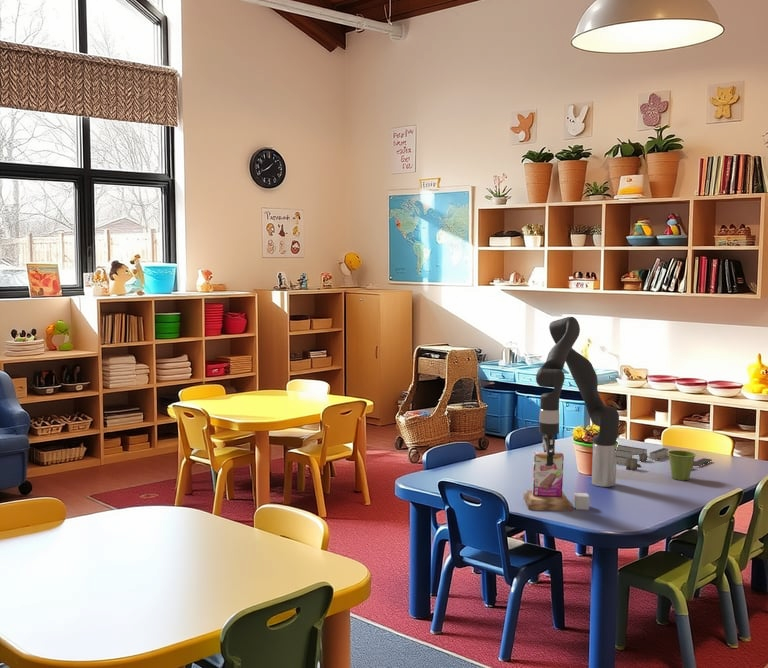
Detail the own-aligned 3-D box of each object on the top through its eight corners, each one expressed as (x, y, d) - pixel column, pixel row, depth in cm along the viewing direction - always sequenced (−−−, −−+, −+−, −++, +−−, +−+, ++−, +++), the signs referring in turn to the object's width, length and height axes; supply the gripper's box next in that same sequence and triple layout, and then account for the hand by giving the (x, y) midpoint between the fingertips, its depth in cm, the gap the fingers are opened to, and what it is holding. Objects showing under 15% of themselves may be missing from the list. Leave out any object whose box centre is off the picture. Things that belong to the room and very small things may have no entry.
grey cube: (586, 506, 338) (587, 493, 338) (589, 509, 333) (589, 496, 333) (573, 505, 338) (573, 492, 338) (575, 509, 333) (576, 496, 333)
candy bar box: (533, 496, 337) (534, 454, 336) (531, 493, 342) (533, 451, 341) (562, 497, 336) (564, 455, 335) (561, 494, 341) (562, 452, 340)
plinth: (564, 499, 347) (564, 490, 347) (571, 510, 331) (571, 501, 331) (523, 498, 348) (523, 489, 347) (528, 509, 332) (528, 500, 331)
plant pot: (671, 481, 377) (671, 455, 376) (663, 475, 389) (663, 449, 388) (699, 482, 376) (700, 456, 376) (690, 475, 388) (691, 450, 387)
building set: (580, 462, 414) (580, 451, 413) (623, 448, 445) (623, 438, 445) (673, 478, 384) (673, 467, 383) (711, 462, 415) (712, 452, 415)
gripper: (562, 424, 329) (560, 467, 331) (556, 417, 344) (555, 459, 345) (541, 424, 330) (540, 467, 331) (536, 417, 344) (535, 458, 345)
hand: (548, 463), depth 338 cm, fingers open, 8 cm apart
